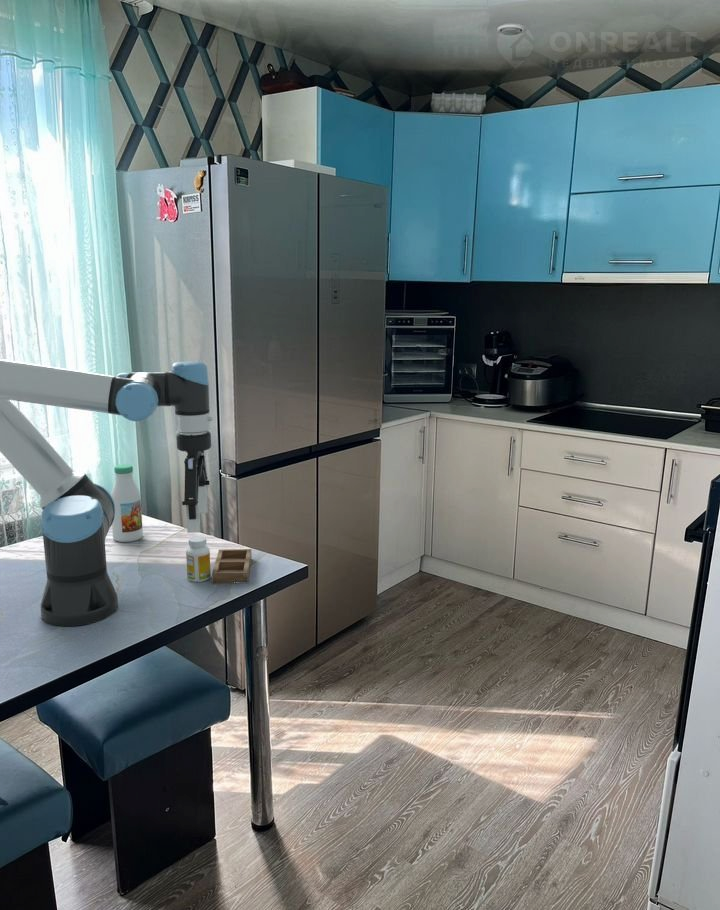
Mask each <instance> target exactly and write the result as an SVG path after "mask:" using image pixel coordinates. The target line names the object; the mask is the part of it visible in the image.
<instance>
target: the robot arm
mask: <svg viewBox="0 0 720 910" xmlns="http://www.w3.org/2000/svg"><path fill="white" fill-rule="evenodd" d="M171 367H172V369H171V371H162V372H160V371H158V372H157V371H156V372H155V371H154V372H147V371H146V372H145V371H144V372H142V371H141V372H135V371H131V372H121V373H118V374H117V375H116V376H114V375H113V376H112V375H107V374H100V373H94V372H89V371H88V372H87V371H81V370H75V369H74V370H73V369H68V368H67V369H66V368H61V367H54V366H48V365H41V364H35V363H29V362H28V363H27V362H21V361H15V360H14V361H13V360H8V359H1V358H0V453H1V454H2V456H4V457H5V459H6V461H8V462H9V463H10V464H11V465H12V467H13V468H14V469H16V471H17V472H18V474H20V476H22V478H23V479H25V481H26V482H27V483H28V484H29V485H30V486H31V488H32V489H33V490H34V491H35V492H36V493H37V494H38V495H39V496H40V497H39V498H40V500H39V501H40V503H39V507H40V508H41V509H42V512H41V520H40V526H41V527H40V528H41V532H42V539H43V540H42V541H43V550H44V559H45V568H46V569H45V570H46V583H45V587H44V591H43V594H42V598H41V603H40V617H41V619H42V620H43V621H44V622H45V623H47V624H50V625H53V626H57V627H59V626H60V627H75V626H76V627H77V626H78V627H79V626H83V625H84V626H85V625H88V624H89V625H90V624H93V623H96V622H99V621H102V620H105V619H106V618H108V617H110V616H111V615H113V614H114V613H115V612H116V611H117V609H118V608H119V601H118V599H119V598H118V594H117V591H116V588H115V587H114V585H113V582H112V580H111V577H110V576H109V574H108V568H107V566H108V565H107V556H106V555H107V553H106V538H107V535H108V533H109V531H110V528H112V523H113V521H114V516H115V504H114V501H113V498H112V496H111V493H110V492H109V491H108V489H106V487H103V486H101V485H100V484H98V483H94V482H93V481H92V480H91V479H90V477H88V475H87V473H85V472H81V471H75V470H73V469H72V468H71V467H70V466H69V464H68V463H67V461H65V460H64V459H63V458H62V456H61V455H60V454H59V452H58V451H56V450H55V448H54V447H53V446H52V445H51V444H50V442H49V441H47V439H46V438H45V437H44V435H43V434H41V432H40V431H39V430H38V429H37V428H36V427H35V425H33V423H32V422H31V420H29V419H28V418H27V417H26V415H25V414H24V413H23V412H22V411H21V410H20V408H19V406H17V405H16V404H15V403H14V402H13V401H15V402H23V403H30V404H37V405H45V406H53V407H60V408H65V409H67V408H68V409H74V410H81V411H82V410H83V411H89V412H94V413H95V412H96V413H104V414H109V415H116V416H122V417H123V418H124V419H126V420H128V421H131V422H141V421H144V420H146V419H148V418H149V417H151V416H152V415H153V414H154V412H156V410H157V407H174V420H175V421H174V423H175V431H176V432H177V433H176V436H175V438H176V448H177V450H178V451H180V452H185V453H187V455H186V456H185V458H184V461H183V462H184V494H183V495H184V496H183V497H184V498H183V500H182V501H181V505H182V506H185V510H186V511H185V512H186V528H187V534H188V533H189V534H190V533H192V534H193V533H195V534H196V533H201V520H200V519H201V517H200V516H201V515H200V514H208V512H209V511H208V509H209V508H208V490H207V486H210V480H208V476H207V474H208V473H207V467H206V460H205V459H206V456H205V451H207V450H210V449H211V448H212V435H211V432H210V431H209V430H210V429H211V422H212V421H213V419H214V417H213V416H210V388H209V385H210V383H209V375H208V374H209V373H208V366H207V365H206V363H204V362H201V361H190V360H189V361H178V362H174V363H173V364H172V366H171Z"/></svg>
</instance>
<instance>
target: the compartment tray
mask: <svg viewBox="0 0 720 910" xmlns="http://www.w3.org/2000/svg"><path fill="white" fill-rule="evenodd" d="M251 558H253V557H252V549H251V548H245V549H244V548H243V549H235V548H234V549H233V548H232V549H218V552H217V555H216V560H215V563H214V566H213V569H212V573H211V579H212V580H211V582H212V584H213V585H214V584H215V585H216V584H237V583H236V582H249V577H250V576H249V575H250V571H249V570H251V565H250V564H251V563H252V559H251ZM248 576H249V577H248ZM234 582H235V583H234Z"/></svg>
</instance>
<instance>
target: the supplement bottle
mask: <svg viewBox="0 0 720 910" xmlns="http://www.w3.org/2000/svg"><path fill="white" fill-rule="evenodd" d="M210 551H211V549H210V547H209V546H208V545H207V538H206V536H202V535H197V536H195V535H194V536H191V537H189V538H188V546H187V548H186V550H185V556H186V557H185V561H186V578H187V580H188V581H190V582H194V583H199V582H200V583H202V582H205V581H208V580H210V578H211V577H212V573H211V553H210Z"/></svg>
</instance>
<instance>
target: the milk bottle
mask: <svg viewBox="0 0 720 910" xmlns="http://www.w3.org/2000/svg"><path fill="white" fill-rule="evenodd" d="M113 470H114V475H115V480H114V484H113V487H112V489H111V493H110V495H111V496H112V498H113V501H114V504H115V516H114V521H113V523H112V525H111V530H112V531H111V533H112V538H113V540H114V541H116V542H118V543H119V542H120V543H130V542H135V541H139V540H140V539H141V538H142V537H143V535H144V533H143V532H144V531H143V530H144V529H143V517H142V515H143V514H142V512H143V511H142V502H141V499H142V498H141V494H140V490H139V488H138V486H137V484H136V483H135V482H136V481H134V478H133V474H134V467H133V465H132V464H127V463H126V464H125V463H123V464H118V465H115V466H114V469H113Z"/></svg>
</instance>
